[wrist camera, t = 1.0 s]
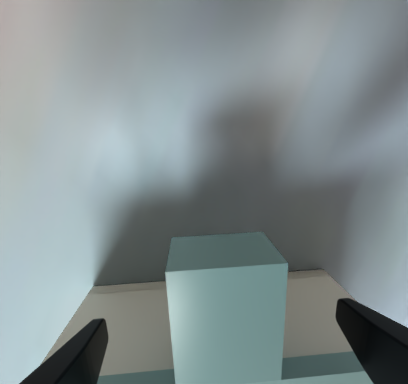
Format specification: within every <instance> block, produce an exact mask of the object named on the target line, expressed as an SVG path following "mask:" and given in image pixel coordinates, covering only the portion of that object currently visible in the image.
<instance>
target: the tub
mask: <svg viewBox="0 0 408 384" xmlns="http://www.w3.org/2000/svg"><path fill="white" fill-rule="evenodd" d="M340 298H350V299H352V300H354V301H356V300H355V299H354V298H353V297H352V296H351V295H350V294H349V293H348V292H347V291H345V290H344V289H343V288H342V287H341V286H340V285H339V284H338V283H337V282H336V281H335V280H334V279H333V278H332V277H331V276H330V275H329V274H328V273H327V272H326V271H325V270H323V269H319V270H305V271H292V272H288V275H287V292H286V308H285V325H284V341H283V357H282V358H289V357H299V356H309V355H319V354H330V353H340V352H350V351H353V350H352V348H351V346H350V345H349V343H348V341H347V339H346V338H345V336H344V334H343V332H342V331H341V329H340V327H339V325H338V323H337V321H336V317H335V314H336V306H337V301H338V299H340ZM356 302H357V301H356ZM99 318H104V319H105V320H106V325H107V330H108V344H107V348H106V352H105V356H104V359H103V363H102V367H101V371H100V374H99V376H105V375H115V374H125V373H136V372H146V371H156V370H166V369H174V362H173V352H172V341H171V330H170V319H169V308H168V297H167V286H166V281H159V282H146V283H132V284H119V285H106V286H93V287H92V289H91V290H90V292H89V293H88V295H87V296H86V298H85V299H84V301H83V302H82V304H81V305H80V307H79V308H78V310H77V311H76V312H75V314H74V315H73V317H72V318H71V320H70V321H69V323H68V324H67V326H66V327H65V329H64V330H63V332H62V333H61V335H60V336H59V338H58V339H57V341H56V342H55V344H54V345H53V347H52V348H51V350H50V351H49V353H48V354H47V356H46V357H45V359H44V360H43V362H45V361H46V360H47V359H48V358H49V357H50V356H51V355H53V354H54V353H55V352H56V351H57V350H58V349H59V348H61V347H62V346H63V345H64V344H65V343H66V342H67V341H69V340H70V339H71V338H72V337H73V336H74V335H75V334H77V333H78V332H79V331H80V330H81V329H82V328H83V327H84V326H86V325H87V324H88V323H89V322H90V321H91V320H93V319H99ZM43 362H42V363H43ZM42 363H41V364H42Z"/></svg>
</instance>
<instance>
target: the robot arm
mask: <svg viewBox="0 0 408 384" xmlns="http://www.w3.org/2000/svg"><path fill="white" fill-rule="evenodd" d="M335 317H336V321H337V323H338V325H339V327H340V329H341V331H342V332H343V334H344V336H345V338H346V339H347V341H348V343H349V345H350V346H351V348H352V350H353V352H354V354H355V355H356V357H357V359H358V360H359V362H360V364H361V365H362V367H363V369H364V370H365V372H366V373H367V375H368V376H369V378H370V379H371V381H372V382H373V384H408V328H407V327H405V326H403V325H401V324H399V323H397V322H395V321H393V320H391V319H390V318H388V317H386V316H384V315H382V314H380V313H378V312H376V311H374V310H372V309H370V308H368V307H366V306H364V305H362V304H360V303H358V302H356V301H354V300H352V299H350V298H340V299H338V301H337V306H336V314H335ZM107 344H108V330H107V325H106V320H105V319H104V318H99V319H93V320H91V321H90V322H89V323H88V324H87V325H86V326H84V327H83V328H82V329H81V330H80V331H79V332H78V333H77V334H75V335H74V336H73V337H72V338H71V339H70V340H69V341H67V342H66V343H65V344H64V345H63V346H62V347H61V348H59V349H58V350H57V351H56V352H55V353H54V354H53V355H51V356H50V357H49V358H48V359H47V360H46V361H45V362H43V363H42V364H41V365H40V366H39V367H38V368H37V369H35V370H34V371H33V372H32V373H31V374H30V375H29V376H27V377H26V378H25V379H24V380H23V381H22V382H21V383H20V384H97V382H98V378H99V374H100V371H101V367H102V363H103V359H104V356H105V352H106V348H107Z"/></svg>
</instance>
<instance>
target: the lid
mask: <svg viewBox="0 0 408 384" xmlns="http://www.w3.org/2000/svg"><path fill="white" fill-rule="evenodd" d="M287 275H288V262H287V261H286V260H285V259H284V257H283V256H282V255H281V254H280V252H279V251H278V250H277V249H276V247H275V246H274V245H273V244H272V243H271V241H270V240H269V239H268V238H267V236H266V235H265V234H264V233H263V232H250V233H234V234H218V235H203V236H187V237H172V239H171V244H170V249H169V255H168V260H167V265H166V270H165V276H166V286H167V297H168V308H169V319H170V330H171V341H172V352H173V362H174V369H166V370H156V371H146V372H136V373H125V374H115V375H105V376H99V378H98V382H97V384H373V382H372V381H371V379H370V378H369V376H368V375H367V373H366V372H365V370H364V369H363V367H362V365H361V364H360V362H359V360H358V359H357V357H356V355H355V354H354V352H353V351H350V352H340V353H330V354H319V355H309V356H299V357H289V358H282V357H283V341H284V325H285V308H286V292H287Z"/></svg>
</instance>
